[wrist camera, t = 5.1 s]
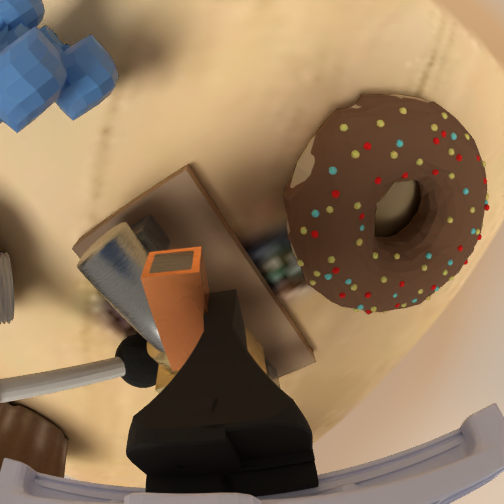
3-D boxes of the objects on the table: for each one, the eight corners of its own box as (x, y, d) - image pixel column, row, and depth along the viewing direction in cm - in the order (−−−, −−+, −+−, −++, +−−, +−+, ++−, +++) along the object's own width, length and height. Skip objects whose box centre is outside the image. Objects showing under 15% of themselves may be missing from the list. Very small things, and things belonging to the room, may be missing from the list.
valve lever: (239, 411, 17) (241, 438, 16) (198, 413, 17) (198, 441, 15) (208, 240, 12) (207, 271, 10) (144, 248, 11) (133, 278, 10)
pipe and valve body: (291, 372, 26) (306, 436, 20) (243, 390, 26) (249, 454, 21) (152, 191, 17) (122, 248, 11) (94, 231, 18) (52, 295, 12)
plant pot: (66, 459, 38) (52, 541, 24) (-19, 412, 31) (-46, 493, 17) (97, 435, 32) (81, 547, 19) (-14, 372, 26) (-57, 481, 12)
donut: (241, 247, 21) (247, 296, 16) (342, 49, 15) (382, 43, 11) (399, 303, 25) (426, 345, 20) (488, 163, 19) (533, 187, 15)
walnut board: (312, 351, 26) (315, 361, 25) (221, 388, 28) (222, 398, 27) (188, 164, 18) (186, 169, 17) (78, 239, 19) (71, 248, 18)
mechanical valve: (-70, 183, 13) (-69, 402, 7) (125, 198, 27) (208, 344, 21) (-67, 279, 17) (-37, 449, 11) (90, 273, 32) (151, 401, 26)
